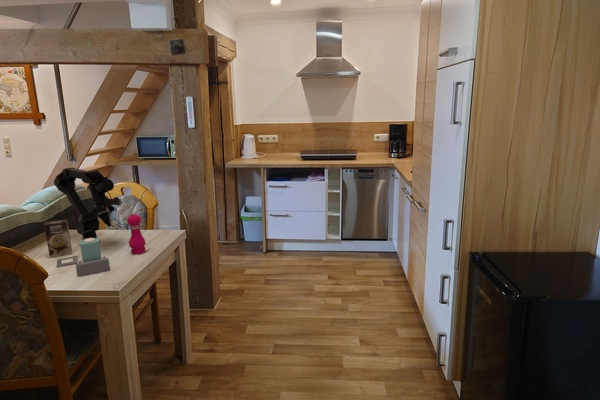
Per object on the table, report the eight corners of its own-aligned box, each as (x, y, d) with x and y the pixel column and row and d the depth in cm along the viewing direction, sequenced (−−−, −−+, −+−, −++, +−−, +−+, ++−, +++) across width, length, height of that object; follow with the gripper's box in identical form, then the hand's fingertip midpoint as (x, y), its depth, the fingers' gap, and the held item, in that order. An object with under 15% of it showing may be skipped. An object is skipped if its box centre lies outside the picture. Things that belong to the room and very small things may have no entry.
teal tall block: (84, 267, 169) (79, 239, 166) (102, 263, 172) (97, 236, 169) (84, 272, 164) (79, 242, 161) (103, 268, 167) (98, 239, 164)
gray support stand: (77, 268, 169) (75, 257, 167) (108, 262, 174) (106, 251, 173) (77, 277, 159) (75, 265, 158) (110, 270, 165) (108, 259, 164)
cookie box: (49, 258, 181) (43, 224, 178) (50, 254, 187) (44, 221, 183) (72, 254, 185) (66, 221, 182) (72, 250, 191) (67, 218, 187)
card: (57, 260, 178) (57, 259, 178) (77, 256, 182) (77, 255, 182) (56, 267, 170) (56, 266, 170) (77, 263, 174) (77, 262, 174)
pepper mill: (133, 250, 189) (127, 209, 184) (148, 249, 189) (143, 209, 185) (128, 255, 182) (122, 213, 177) (144, 254, 182) (138, 213, 178)
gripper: (110, 189, 180) (122, 221, 181) (120, 191, 198) (131, 220, 199) (85, 197, 178) (97, 229, 179) (98, 198, 196) (108, 227, 197)
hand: (109, 226), depth 189 cm, fingers closed
